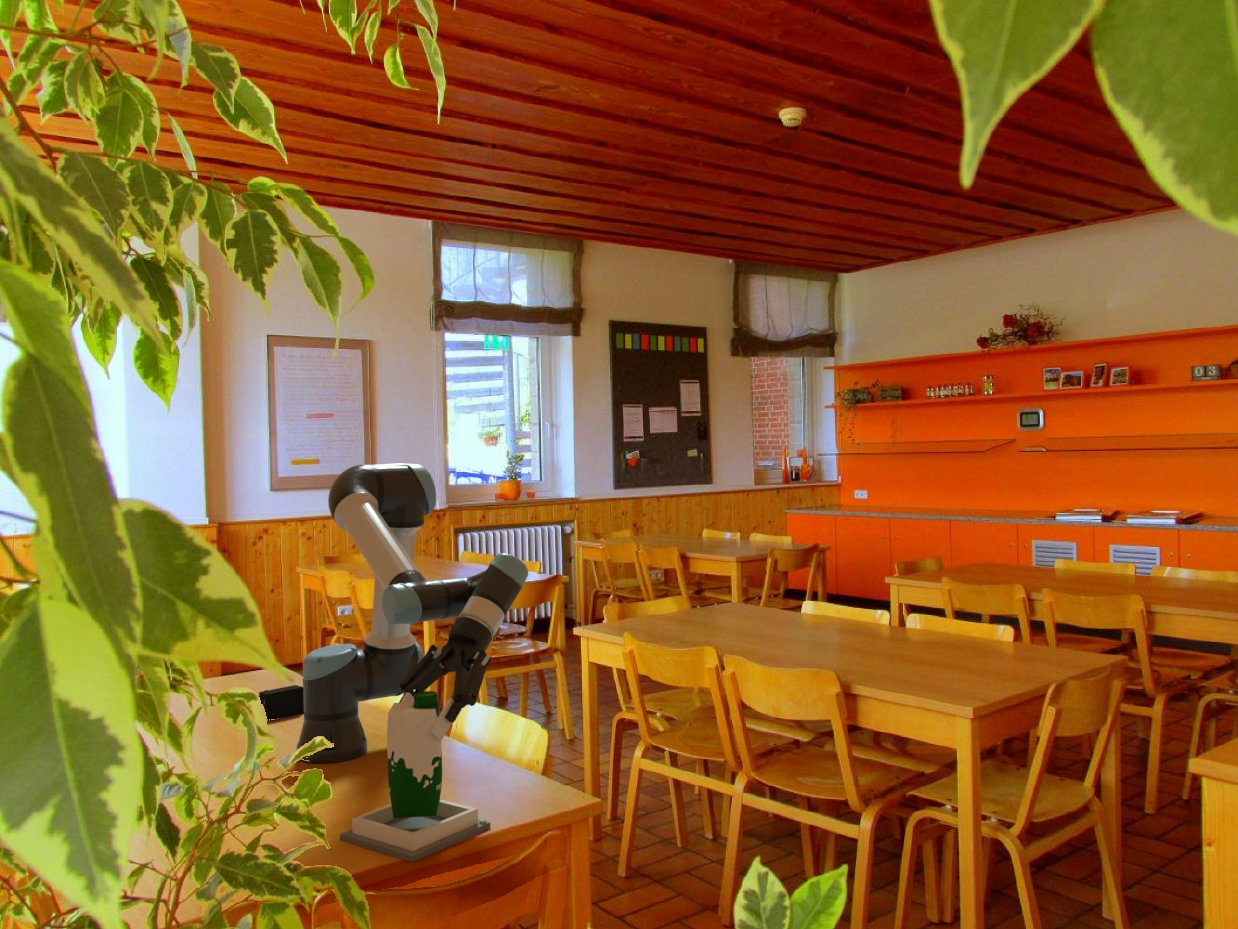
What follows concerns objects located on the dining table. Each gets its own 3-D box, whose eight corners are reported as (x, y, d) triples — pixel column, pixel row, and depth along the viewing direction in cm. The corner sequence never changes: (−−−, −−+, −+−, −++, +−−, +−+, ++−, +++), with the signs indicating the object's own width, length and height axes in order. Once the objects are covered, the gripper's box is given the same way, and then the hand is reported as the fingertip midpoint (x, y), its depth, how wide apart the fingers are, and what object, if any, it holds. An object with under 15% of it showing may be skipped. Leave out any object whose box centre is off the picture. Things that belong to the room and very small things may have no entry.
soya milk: (440, 817, 172) (437, 698, 172) (386, 821, 171) (382, 701, 171) (445, 800, 181) (441, 687, 181) (393, 803, 180) (389, 690, 180)
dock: (339, 839, 174) (339, 819, 174) (419, 809, 189) (418, 790, 189) (412, 862, 163) (412, 840, 163) (490, 827, 178) (489, 807, 178)
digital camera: (294, 710, 268) (293, 683, 268) (305, 713, 265) (304, 686, 265) (257, 718, 261) (256, 691, 261) (267, 721, 257) (267, 694, 257)
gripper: (531, 644, 184) (472, 753, 171) (443, 634, 197) (382, 735, 185) (510, 619, 180) (448, 729, 167) (422, 611, 193) (358, 712, 180)
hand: (413, 732), depth 176 cm, fingers closed on soya milk, 10 cm apart
